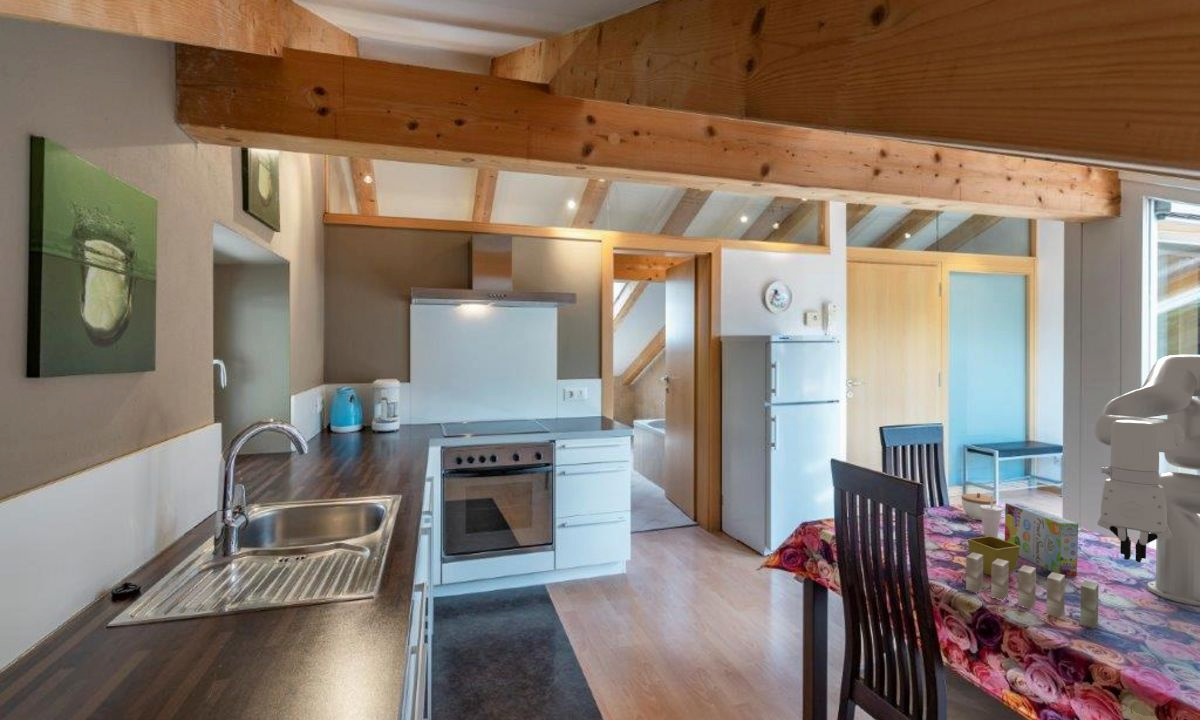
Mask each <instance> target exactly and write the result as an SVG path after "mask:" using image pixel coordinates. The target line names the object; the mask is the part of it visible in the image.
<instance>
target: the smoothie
mask: <svg viewBox="0 0 1200 720" xmlns="http://www.w3.org/2000/svg"><path fill="white" fill-rule="evenodd" d="M990 497H991V505H981V506H980V510H981V515H982V520H981V521H982V529H983V535H984V537H986V536H992V537H995V538H998V537H999V536H998V535H999V530H1000V523H1001V517H1002V513H1003V508H1001V506H1000V507H999V506H997V505H996V506H993V498H994V496H993V495H992V494H990Z"/></svg>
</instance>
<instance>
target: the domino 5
mask: <svg viewBox="0 0 1200 720" xmlns="http://www.w3.org/2000/svg"><path fill="white" fill-rule="evenodd" d="M1079 620H1080V623H1079V625H1080V624H1082V625H1081V626H1083V625H1085V626H1084V627H1086V626H1088V627H1087V628H1089V627H1091V628H1090V629H1093V628H1094V630H1095V629H1096V628H1097V627H1096V626H1097V625H1098V623H1099V583H1098V582H1094V581H1091V580H1086V579H1084V581H1082V583H1081V585H1080V619H1079Z"/></svg>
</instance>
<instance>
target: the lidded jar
mask: <svg viewBox="0 0 1200 720" xmlns="http://www.w3.org/2000/svg"><path fill="white" fill-rule="evenodd" d="M996 504H997V499H996V498H994V497H993V506H996V507H997V505H996ZM981 505H991V496H990V495H989V496H988V495H984V494H981V493H980V492H977V493H976V494H975V493H964V494H962V495H961V507H962V510H963V511H964V513H965V514H966V515H967V516H968V518H970V519H972V520H978V521H982V515H981V510H980V506H981Z"/></svg>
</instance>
